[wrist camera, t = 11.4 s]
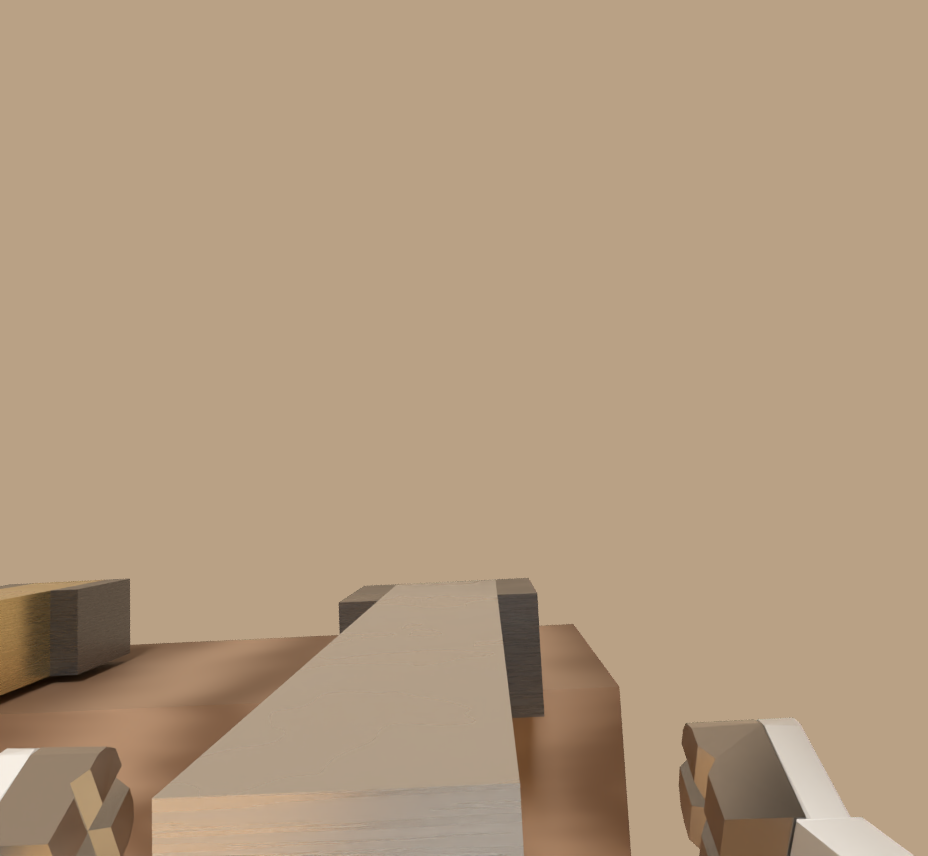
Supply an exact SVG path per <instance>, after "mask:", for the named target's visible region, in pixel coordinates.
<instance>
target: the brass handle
mask: <svg viewBox="0 0 928 856" xmlns="http://www.w3.org/2000/svg"><path fill="white" fill-rule="evenodd" d="M129 653H130V579H113V580H93V581H73V582H54V583H53V582H52V583H32V584H12V585H5V586H0V695H3V694H5V693H8V692H10V691H13V690H15V689H18V688H21V687H23V686H26V685H28V684H31V683H33V682H36V681H39V680H41V679H44V678H46V677H49V676H63V675H78V674H81V673H83V672H86V671H88V670H90V669H93V668H95V667H98V666H100V665H103V664H105V663H107V662H110V661H112V660H115V659H117V658H120V657H122V656H124V655H127V654H129Z"/></svg>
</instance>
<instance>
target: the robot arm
mask: <svg viewBox="0 0 928 856" xmlns="http://www.w3.org/2000/svg"><path fill="white" fill-rule="evenodd" d="M682 746H683V749H684V752H685V755H686V758H687V760H686V761H685V762H684V763H683V764H682V765H681V767H680V774H679V775H680V776H679V791H680V802H681V809H682V813H683V819H684V823H685V826H686V830H687V833H688V837H689V839H690V840H691V841H692V842H693V843H694V844H695V845H696V846H697V847H699V849H700V855H699V856H914V855H913V854H911V853H910V852H909V851H907V850H906V849H904V848H903V847H902V846H900V845H899V844H898V843H896V842H895V841H894V840H892V839H891V838H890V837H888V836H887V835H885V834H884V833H883V832H881V831H880V830H879V829H877V828H876V827H875V826H873V825H872V824H871V823H869V822H868V821H866V820H865V819H864V818H862V817H850V815H849V813H848V812H847V810H846V808H845V806H844V804H843V802H842V800H841V799H840V797H839V795H838V793H837V791H836V789H835V788H834V786H833V784H832V782H831V780H830V778H829V776H828V774H827V773H826V771H825V769H824V767H823V765H822V763H821V761H820V760H819V758H818V756H817V754H816V752H815V751H814V748H813V747H812V745H811V744H810V741H809V739H808V737H807V736H806V734H805V732H804V730H803V728H802V726H801V724H800V723H799V722H798V721H797V720H795V719H794V718H777V719H758V720H734V721H714V722H696V723H686V724H685V726H684V729H683V736H682ZM121 766H122V764H121V761H120V758H119V756H118V753H117V751H116V748H112V747H41V748H7V749H6V750H4V751H3V752H1V753H0V856H123V855H124V852H125V850H126V848H127V845H128V843H129V841H130V837H131V832H132V826H133V821H134V804H133V798H132V795H131V791H130V788H129V787H128V786H126V785H125V784H124V783H122V782H121V781H120V780H119V779H117V778H116V776H117V774H118V772H119V770H120V768H121Z"/></svg>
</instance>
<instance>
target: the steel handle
mask: <svg viewBox="0 0 928 856" xmlns="http://www.w3.org/2000/svg"><path fill="white" fill-rule="evenodd" d="M339 620H340V621H339V624H340V635H338V636H337V637H336V638H335V639H334V640H333V641H332V642H330V643H329V644H328V645H327V646H326V647H325V648H324V649H322V650H321V651H320V652H319V653H318V654H317V655H316V656H314V657H313V658H312V659H311V660H310V661H309V662H308V663H306V664H305V665H304V666H303V667H302V668H301V669H300V670H298V671H297V672H296V673H295V674H294V675H293V676H292V677H290V678H289V679H288V680H287V681H286V682H285V683H283V684H282V685H281V686H280V687H279V688H278V689H277V690H275V691H274V692H273V693H272V694H271V695H270V696H269V697H267V698H266V699H265V700H264V701H263V702H262V703H261V704H259V705H258V706H257V707H256V708H255V709H254V710H253V711H251V712H250V713H249V714H248V715H247V716H246V717H245V718H243V719H242V720H241V721H240V722H239V723H238V724H237V725H235V726H234V727H233V728H232V729H231V730H230V731H229V732H227V733H226V734H225V735H224V736H223V737H222V738H221V739H219V740H218V741H217V742H216V743H215V744H214V745H213V746H211V747H210V748H209V749H208V750H207V751H206V752H205V753H203V754H202V755H201V756H200V757H199V758H198V759H197V760H195V761H194V762H193V763H192V764H191V765H190V766H189V767H187V768H186V769H185V770H184V771H183V772H182V773H180V774H179V775H178V776H177V777H176V778H175V779H174V780H172V781H171V782H170V783H169V784H168V785H167V786H166V787H164V788H163V789H162V790H161V791H160V792H159V793H158V794H156V795H155V796H154V797H153V798H152V856H524V848H523V830H522V812H521V794H520V780H519V772H518V763H517V755H516V747H515V738H514V730H513V722H512V718H526V717H544V700H543V684H542V667H541V650H540V633H539V617H538V600H537V592H536V590H535V589H534V587H533V585H532V584H531V582H530V580H529V578H521V579H520V578H519V579H498V580H479V581H478V580H477V581H457V582H436V583H416V584H397V585H396V584H395V585H374V586H364V587H362V588H360V589H359V590H357V591H356V592H354V593H353V594H351V595H350V596H348V597H347V598H345V599H344V600H342V601H340V602H339Z"/></svg>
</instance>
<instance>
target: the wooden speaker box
mask: <svg viewBox="0 0 928 856" xmlns="http://www.w3.org/2000/svg"><path fill="white" fill-rule="evenodd" d="M539 633H540V650H541V667H542V684H543V700H544V717H526V718H512V722H513V730H514V738H515V747H516V755H517V763H518V772H519V780H520V794H521V812H522V830H523V848H524V856H631V849H630V835H629V820H628V806H627V793H626V792H627V791H626V779H625V778H626V777H625V762H624V749H623V734H622V721H621V720H622V719H621V705H620V691H619V686H618V684H617V683H616V682H615V680H614V679H613V678H612V676H611V675H610V673H608V671H607V669H606V668H605V667H604V665H603V664H602V663H601V661H600V660H599V659H598V657H597V656H596V654H595V653H594V652H593V650H592V649H591V648H590V646H589V645H588V644H587V642H586V641H585V639H584V638H583V637H582V635H581V634H580V633H579V631H578V630H577V629H576V627H575V626H574V625H573V624H566V625H546V626H539ZM337 636H338V635H334V636H333V635H332V636H311V637H291V638H270V639H269V638H268V639H249V640H226V641H206V642H183V643H162V644H141V645H130V653H129V654H127V655H124V656H122V657H120V658H117V659H115V660H112V661H110V662H107V663H105V664H103V665H100V666H98V667H95V668H93V669H90V670H88V671H86V672H83V673H81V674H78V675H63V676H49V677H46V678H44V679H41V680H39V681H36V682H33V683H31V684H28V685H26V686H23V687H21V688H18V689H15V690H13V691H10V692H8V693H5V694H3V695H0V753H1V752H3V751H4V750H6V749H7V748H41V747H112V748H116V751H117V753H118V756H119V758H120V761H121V764H122V766H121V768H120V770H119V772H118V774H117V776H116V778H117V779H119V780H120V781H121V782H122V783H124V784H125V785H126V786H128V787H129V788H130V791H131V795H132V798H133V804H134V821H133V826H132V832H131V837H130V841H129V843H128V845H127V848H126V850H125V852H124V855H123V856H152V798H153V797H154V796H155V795H156V794H158V793H159V792H160V791H161V790H162V789H163V788H164V787H166V786H167V785H168V784H169V783H170V782H171V781H172V780H174V779H175V778H176V777H177V776H178V775H179V774H180V773H182V772H183V771H184V770H185V769H186V768H187V767H189V766H190V765H191V764H192V763H193V762H194V761H195V760H197V759H198V758H199V757H200V756H201V755H202V754H203V753H205V752H206V751H207V750H208V749H209V748H210V747H211V746H213V745H214V744H215V743H216V742H217V741H218V740H219V739H221V738H222V737H223V736H224V735H225V734H226V733H227V732H229V731H230V730H231V729H232V728H233V727H234V726H235V725H237V724H238V723H239V722H240V721H241V720H242V719H243V718H245V717H246V716H247V715H248V714H249V713H250V712H251V711H253V710H254V709H255V708H256V707H257V706H258V705H259V704H261V703H262V702H263V701H264V700H265V699H266V698H267V697H269V696H270V695H271V694H272V693H273V692H274V691H275V690H277V689H278V688H279V687H280V686H281V685H282V684H283V683H285V682H286V681H287V680H288V679H289V678H290V677H292V676H293V675H294V674H295V673H296V672H297V671H298V670H300V669H301V668H302V667H303V666H304V665H305V664H306V663H308V662H309V661H310V660H311V659H312V658H313V657H314V656H316V655H317V654H318V653H319V652H320V651H321V650H322V649H324V648H325V647H326V646H327V645H328V644H329V643H330V642H332V641H333V640H334V639H335V638H336V637H337Z"/></svg>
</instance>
